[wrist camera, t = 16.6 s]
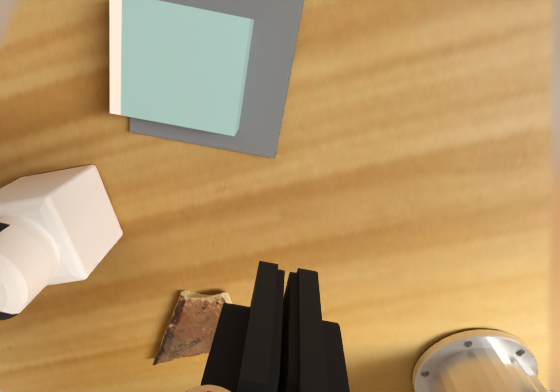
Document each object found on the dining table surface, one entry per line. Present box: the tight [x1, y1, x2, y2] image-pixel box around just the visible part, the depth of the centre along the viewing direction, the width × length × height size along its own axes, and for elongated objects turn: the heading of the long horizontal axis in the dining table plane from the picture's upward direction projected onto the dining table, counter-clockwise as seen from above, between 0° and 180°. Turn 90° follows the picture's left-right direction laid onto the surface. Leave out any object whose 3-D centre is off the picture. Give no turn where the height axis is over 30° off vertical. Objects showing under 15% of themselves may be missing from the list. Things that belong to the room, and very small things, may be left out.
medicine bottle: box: [0, 165, 123, 320], centre depth 28 cm, size 7×7×12 cm
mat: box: [130, 0, 304, 158], centre depth 28 cm, size 12×12×1 cm
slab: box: [109, 0, 254, 136], centre depth 27 cm, size 2×8×9 cm
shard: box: [153, 290, 232, 365], centre depth 38 cm, size 11×8×2 cm
